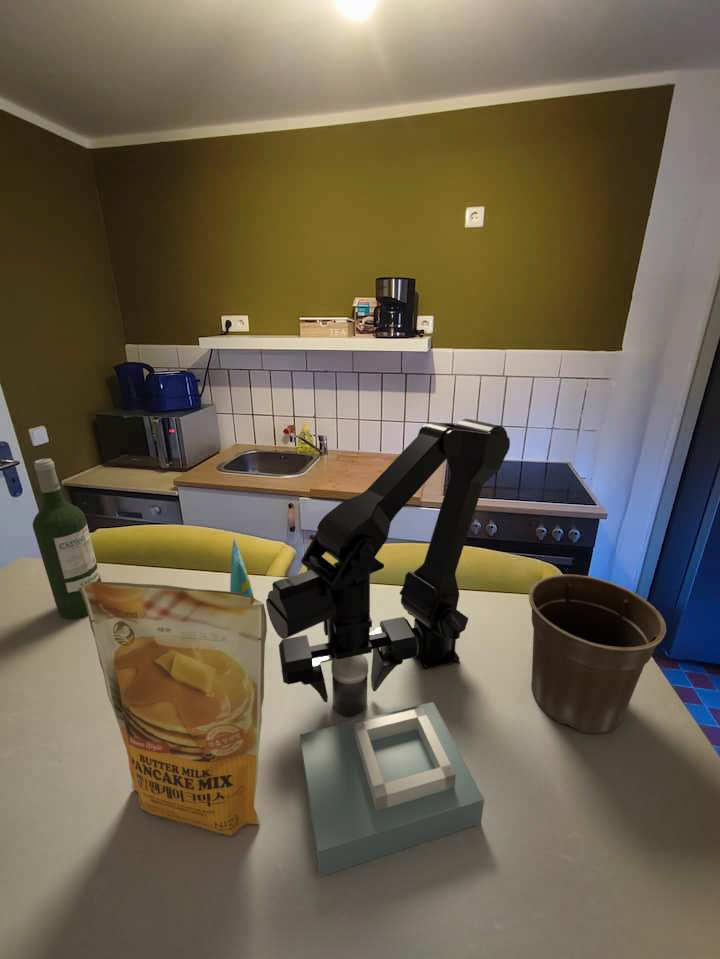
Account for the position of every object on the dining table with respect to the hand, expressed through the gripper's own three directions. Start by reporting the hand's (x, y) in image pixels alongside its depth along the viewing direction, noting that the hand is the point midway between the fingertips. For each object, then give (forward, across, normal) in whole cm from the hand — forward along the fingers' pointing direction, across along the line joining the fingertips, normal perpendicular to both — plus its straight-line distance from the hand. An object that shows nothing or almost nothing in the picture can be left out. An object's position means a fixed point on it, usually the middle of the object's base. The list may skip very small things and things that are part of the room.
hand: (349, 694), depth 62 cm
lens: (+2, 0, 0) cm, 2 cm away
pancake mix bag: (+2, +20, +8) cm, 22 cm away
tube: (+2, +14, -16) cm, 21 cm away
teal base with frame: (+2, -1, +13) cm, 13 cm away
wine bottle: (+2, +45, -36) cm, 58 cm away
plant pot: (+2, -32, +8) cm, 33 cm away
